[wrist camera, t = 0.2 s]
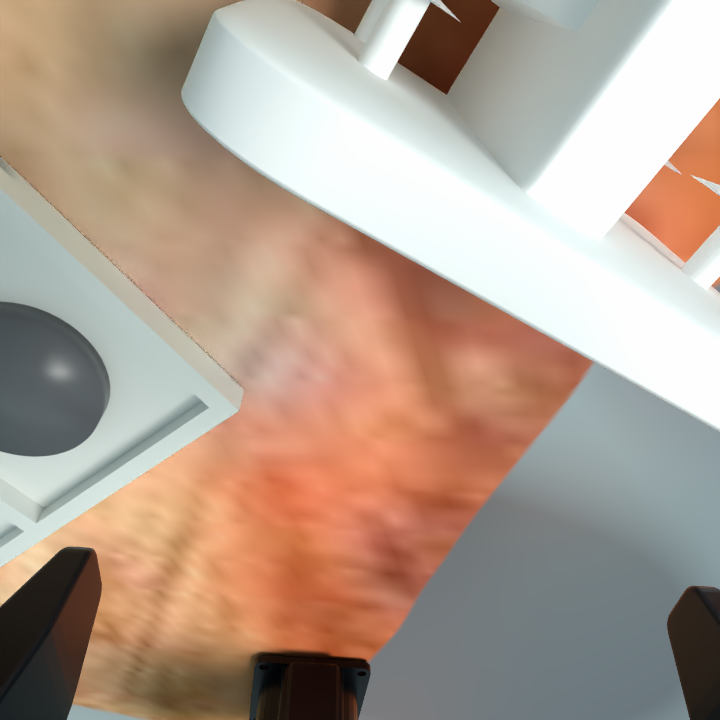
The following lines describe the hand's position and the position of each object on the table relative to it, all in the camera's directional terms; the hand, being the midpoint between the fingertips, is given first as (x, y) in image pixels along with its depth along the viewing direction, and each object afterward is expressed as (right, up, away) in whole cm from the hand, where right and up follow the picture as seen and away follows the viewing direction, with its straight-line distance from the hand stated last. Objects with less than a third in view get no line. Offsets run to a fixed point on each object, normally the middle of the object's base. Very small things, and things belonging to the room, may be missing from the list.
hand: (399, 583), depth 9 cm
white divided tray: (-18, 0, +17) cm, 24 cm away
